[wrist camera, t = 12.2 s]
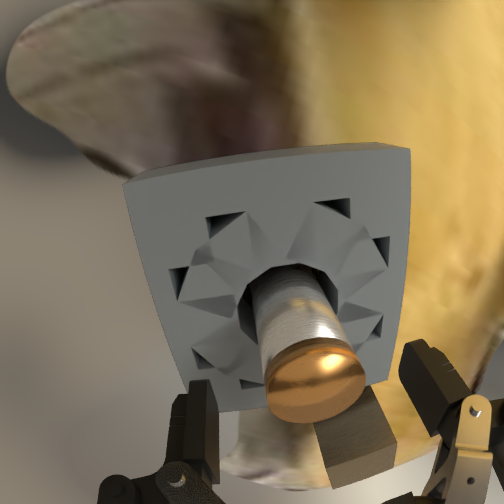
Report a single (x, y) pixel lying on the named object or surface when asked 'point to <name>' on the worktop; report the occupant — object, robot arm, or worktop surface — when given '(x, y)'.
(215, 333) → the socket block
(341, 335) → the cylinder
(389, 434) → the square bit
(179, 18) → the worktop surface
